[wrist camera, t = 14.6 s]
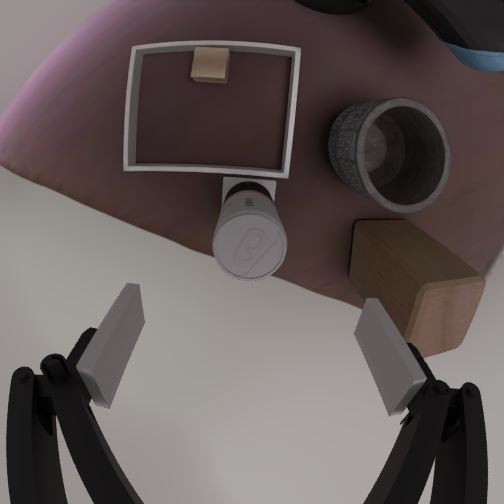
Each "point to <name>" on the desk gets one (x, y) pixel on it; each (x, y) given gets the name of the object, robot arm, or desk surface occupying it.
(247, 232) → the beverage can
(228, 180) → the pad
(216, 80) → the beech block
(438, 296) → the wooden block
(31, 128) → the desk surface
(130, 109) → the bin
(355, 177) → the planter
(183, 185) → the desk surface
